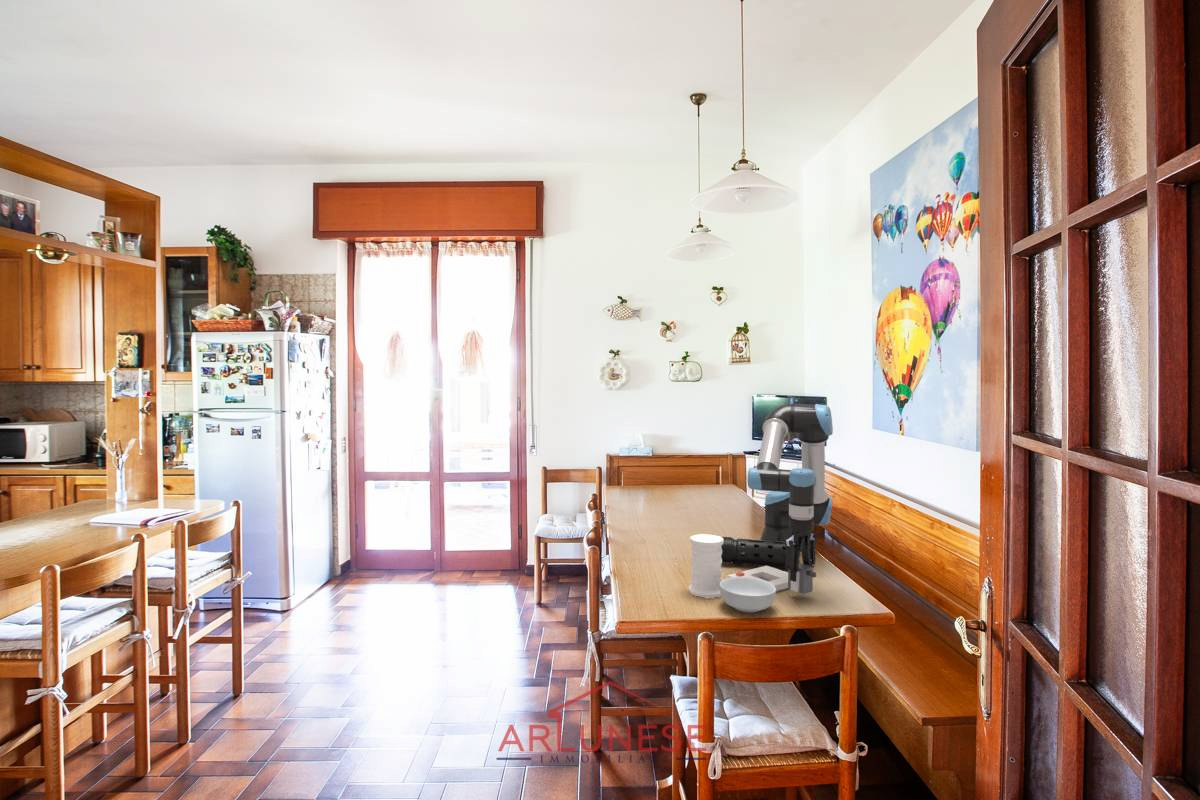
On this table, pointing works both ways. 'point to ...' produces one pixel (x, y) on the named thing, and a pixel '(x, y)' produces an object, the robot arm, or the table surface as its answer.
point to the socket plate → (767, 576)
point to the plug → (804, 578)
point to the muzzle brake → (754, 552)
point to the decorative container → (706, 565)
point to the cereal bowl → (747, 593)
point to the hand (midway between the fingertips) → (800, 588)
